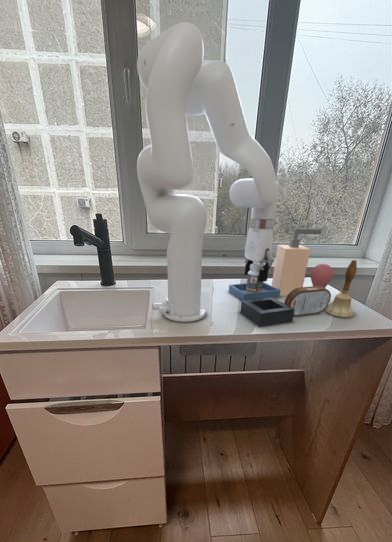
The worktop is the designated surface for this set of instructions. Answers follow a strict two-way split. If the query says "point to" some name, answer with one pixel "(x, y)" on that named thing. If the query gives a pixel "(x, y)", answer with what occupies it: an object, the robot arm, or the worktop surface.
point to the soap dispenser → (291, 263)
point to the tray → (267, 291)
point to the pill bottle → (254, 279)
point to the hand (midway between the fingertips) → (255, 277)
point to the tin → (308, 300)
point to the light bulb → (321, 275)
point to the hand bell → (344, 295)
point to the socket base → (266, 311)
